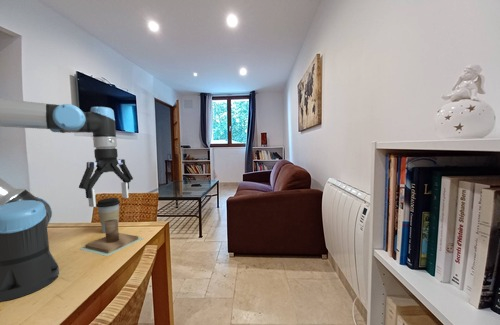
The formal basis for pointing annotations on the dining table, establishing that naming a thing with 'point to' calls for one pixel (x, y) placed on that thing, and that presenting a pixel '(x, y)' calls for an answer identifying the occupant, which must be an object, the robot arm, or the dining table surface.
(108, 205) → the coffee cup
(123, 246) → the rubber mat
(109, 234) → the walnut cover
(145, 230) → the dining table surface
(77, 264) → the dining table surface
